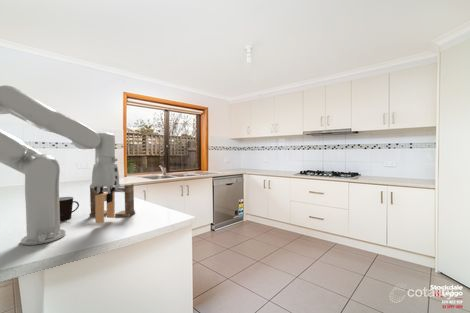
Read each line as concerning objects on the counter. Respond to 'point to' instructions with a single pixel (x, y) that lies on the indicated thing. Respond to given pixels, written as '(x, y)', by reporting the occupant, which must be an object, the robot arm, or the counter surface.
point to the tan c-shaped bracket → (100, 207)
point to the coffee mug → (66, 207)
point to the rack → (128, 201)
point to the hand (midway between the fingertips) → (105, 201)
